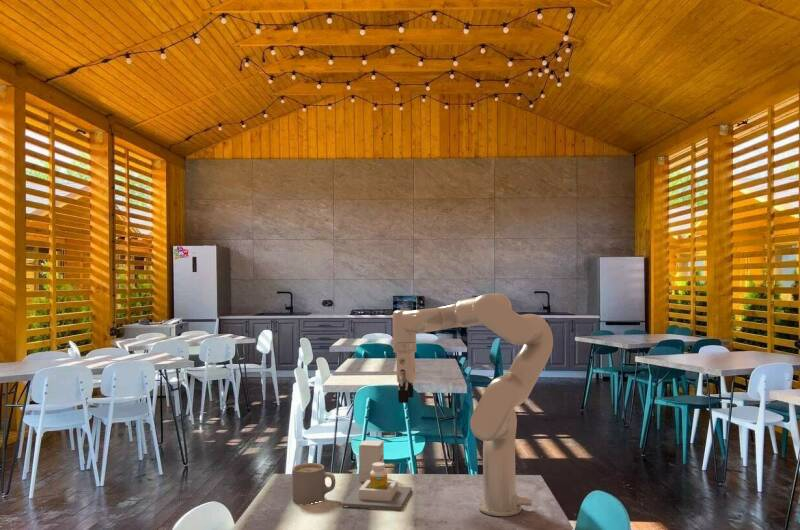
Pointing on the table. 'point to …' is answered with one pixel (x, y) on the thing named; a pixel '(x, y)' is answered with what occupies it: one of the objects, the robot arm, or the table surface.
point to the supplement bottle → (378, 476)
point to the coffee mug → (310, 483)
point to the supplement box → (369, 457)
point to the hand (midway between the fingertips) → (406, 399)
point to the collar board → (378, 497)
